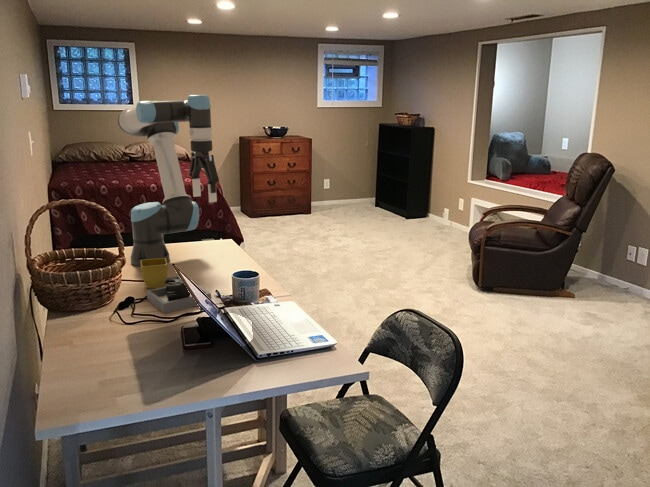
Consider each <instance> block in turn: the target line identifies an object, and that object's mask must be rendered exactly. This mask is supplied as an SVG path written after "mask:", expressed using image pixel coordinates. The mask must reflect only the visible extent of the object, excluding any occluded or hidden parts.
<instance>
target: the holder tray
mask: <svg viewBox="0 0 650 487" xmlns="http://www.w3.org/2000/svg"><path fill="white" fill-rule="evenodd" d="M194 283H195V284H196V285H197V286H198V287H199V288H200V289H201V290H202V291H203V292H204V293H205V294H206V295H207V296H208V297H209V298H210V299H211V300H212V293H211V292H210V291H208V290H207V289H205V288H203V287H202V286H200V285H199V284H197V283H196V282H194ZM146 298H147V301H149V303H151V304H152V305H153V306H155V307H156V308H157V309H158V310H160V311H161V313H163V314H167V313H170V312H175V311H180V310H184V309H188V308H193V307H197V306H198V305H197V303H196V302H195V300H194V299H193V298H192V296H191V295H190V296H189V297H187V298H182V299H178V300H173V301H169V302H168V298H167V292H166V286H163V287H159V288H151V289H147V290H146Z"/></svg>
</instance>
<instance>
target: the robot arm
mask: <svg viewBox="0 0 650 487" xmlns="http://www.w3.org/2000/svg"><path fill="white" fill-rule="evenodd" d="M211 112H212V111H211V101H210V97H209V95H207V94H189V95H188V96H187V99H183V100H141V101H138V102H136V106H135V107H132V108H131V107H130V108H126V109H124V110H122V111H120V113H118V116H117V119H116V120H117V121H116V122H117V126H118V128H119V129H120V130H121V131H122V132H123V133H124V134H126V135H129V136H132V137H146V138H147V142H148V143H150V144H152V148H153V151H154V155H155V160H156V165H157V168H158V173H159V176H160V181H161V186H162V191H163V194H164V199H163V201H162V204H161V202H159V201H153V202H144V203H141V204H138V205H136V206H134V207H132V208H131V209H130V210H131V211H130V221H131V229H132V239H133V245H132V250H131V254H130V263H131V265H133V266H137V267H141V261H140V260H144V259H156V258H166V260H167V263H168V262H169V261H171V260H170V259H171V258H170V252H169V250H168V248H167V246H166V243H165V241H164V235H167V234H174V233H180V232H181V233H182V232H188V231H193V230H195V229H197V227H198V225H199V221H200V208H199V206H198V203H197V202H196V201H193V200H192V198H191V195H190V194H187V192H186V189H185V184H184V180H183V176H182V175H183V174H182V171H181V167H180V162H179V158H178V154H177V149H176V145H175V143H174V142H175V140H176V138H177V135H178V134H179V130H180V129H179V128H180V126H179V123H183V122H184V123H185V122H186V123H187V122H188V123H189V130H188V133H189V137H190V151H191V152H190V153H191V154H190V156H191V158H190V166H189V172H188V176H189V177H191V179H192V181H191V182H192V196H193V197H194V198H196V197H202V193H201V176H200V174H201V171H202V169H203V170H204V173H205V175H206V179H207V190H208V192H207V193H208V203H217V201H218V196H217V183H219V182H220V179H219V178H220V177H219V176H218V171H217V167H216V163H215V159H214V158H215V157H214V154H210V153H209V152H212V151H213V141H212V139H213V133H212V132H213V131H212V116H211Z"/></svg>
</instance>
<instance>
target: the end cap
mask: <svg viewBox="0 0 650 487" xmlns="http://www.w3.org/2000/svg"><path fill="white" fill-rule="evenodd" d="M165 280H166V282H165V284H166V285H165V287H166V292H167V298H168V302H169V301H173V300H178V299H182V298H187V297H189V296H190V293H189V292H188V290H187V288H186V286H185V285H184V283H183V282H182V280H181V279H180V277H179V275H178V274H177V276H174V277H173V276H172V277H167V278H165Z"/></svg>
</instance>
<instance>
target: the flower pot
mask: <svg viewBox="0 0 650 487" xmlns="http://www.w3.org/2000/svg"><path fill="white" fill-rule="evenodd" d="M140 261H141V266H140V268H141V274H142V275H141V276H142V279H143V282H144V284H145V286H146V287H147V289H157V288H162V287H165V284H166V280H165V278H168V262H167V260H166V258H156V259H144V260H140Z"/></svg>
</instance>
